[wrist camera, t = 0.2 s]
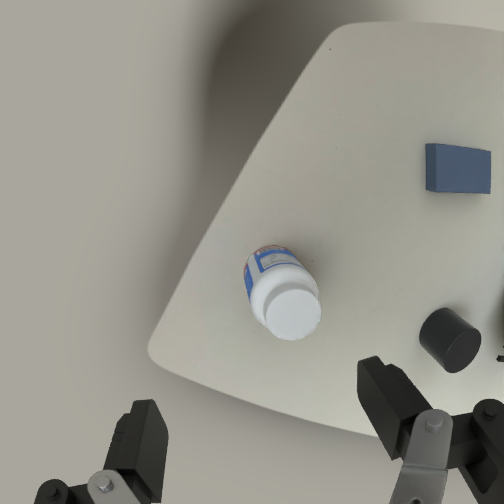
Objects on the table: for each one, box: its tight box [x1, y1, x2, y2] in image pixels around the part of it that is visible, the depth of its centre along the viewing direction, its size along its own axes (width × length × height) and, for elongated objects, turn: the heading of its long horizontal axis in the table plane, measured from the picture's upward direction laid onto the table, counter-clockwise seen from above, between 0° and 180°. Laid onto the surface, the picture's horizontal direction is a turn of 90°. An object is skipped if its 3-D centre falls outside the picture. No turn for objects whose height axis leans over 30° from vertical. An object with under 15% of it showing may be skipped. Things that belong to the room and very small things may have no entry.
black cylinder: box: [419, 308, 481, 373], centre depth 33 cm, size 6×6×6 cm
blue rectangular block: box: [426, 144, 491, 194], centre depth 29 cm, size 9×5×2 cm, turn 93°
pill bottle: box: [244, 246, 322, 340], centre depth 27 cm, size 6×5×10 cm
